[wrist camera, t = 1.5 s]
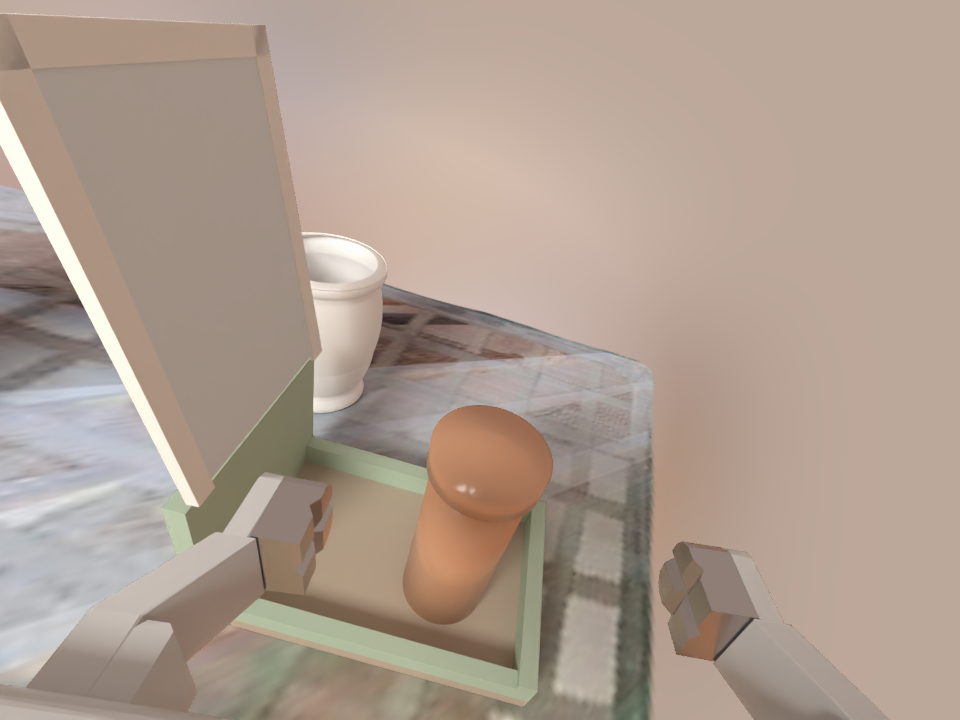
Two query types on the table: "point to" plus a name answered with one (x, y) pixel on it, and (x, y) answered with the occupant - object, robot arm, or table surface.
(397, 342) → the table surface
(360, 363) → the jar
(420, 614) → the orange-brown capped cylinder
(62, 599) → the table surface
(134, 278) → the lid
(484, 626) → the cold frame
